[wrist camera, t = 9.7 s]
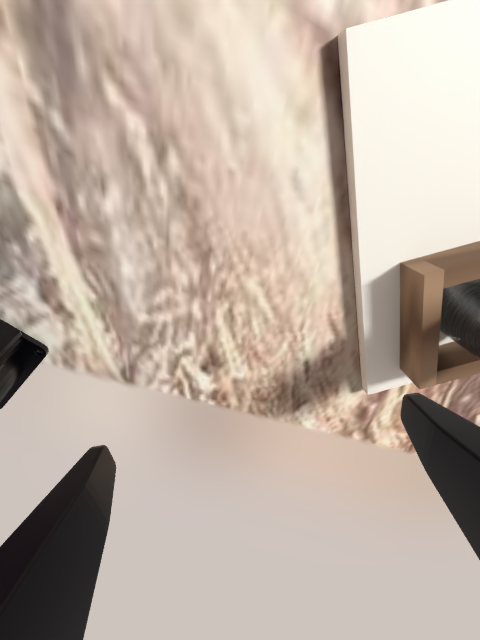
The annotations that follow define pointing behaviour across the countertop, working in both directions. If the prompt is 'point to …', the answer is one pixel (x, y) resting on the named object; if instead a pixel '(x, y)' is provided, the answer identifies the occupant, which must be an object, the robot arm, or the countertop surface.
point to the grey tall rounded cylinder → (462, 315)
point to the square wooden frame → (434, 315)
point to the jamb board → (408, 159)
